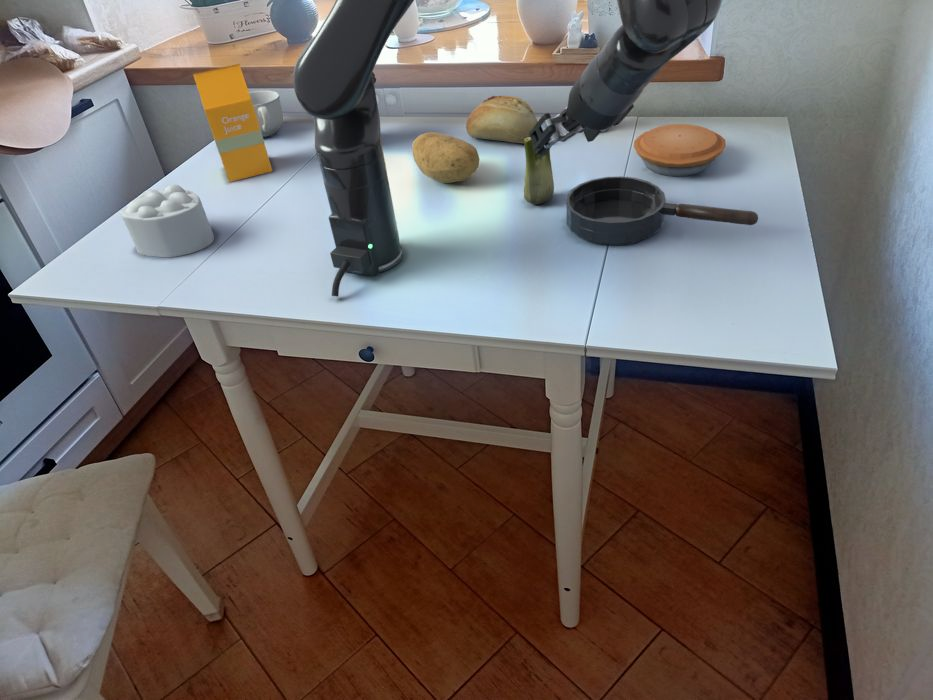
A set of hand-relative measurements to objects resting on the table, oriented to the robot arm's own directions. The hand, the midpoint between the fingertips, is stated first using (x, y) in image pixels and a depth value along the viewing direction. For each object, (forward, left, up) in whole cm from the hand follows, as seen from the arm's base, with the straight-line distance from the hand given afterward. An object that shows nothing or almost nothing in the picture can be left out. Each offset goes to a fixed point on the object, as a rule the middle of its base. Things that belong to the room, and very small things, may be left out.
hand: (562, 143), depth 107 cm
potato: (+9, +25, -13) cm, 30 cm away
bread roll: (+28, +22, -13) cm, 38 cm away
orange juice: (+4, +68, -13) cm, 70 cm away
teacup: (+20, +76, -13) cm, 80 cm away
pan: (+1, -8, -13) cm, 15 cm away
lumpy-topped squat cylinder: (-23, +62, -13) cm, 67 cm away
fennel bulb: (+5, +6, -13) cm, 15 cm away
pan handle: (+1, -22, -11) cm, 24 cm away
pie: (+24, -13, -13) cm, 30 cm away
